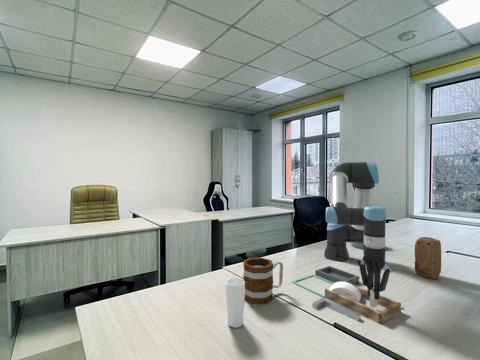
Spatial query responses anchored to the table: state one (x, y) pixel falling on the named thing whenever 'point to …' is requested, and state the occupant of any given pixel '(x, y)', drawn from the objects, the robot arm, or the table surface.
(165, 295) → the table surface
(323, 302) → the grey l-shaped bar
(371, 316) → the wooden u-shaped frame
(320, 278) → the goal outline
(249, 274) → the mug
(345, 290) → the computer mouse
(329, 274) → the grey tray
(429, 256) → the block
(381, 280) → the robot arm
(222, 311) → the table surface
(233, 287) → the drinking glass
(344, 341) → the table surface
